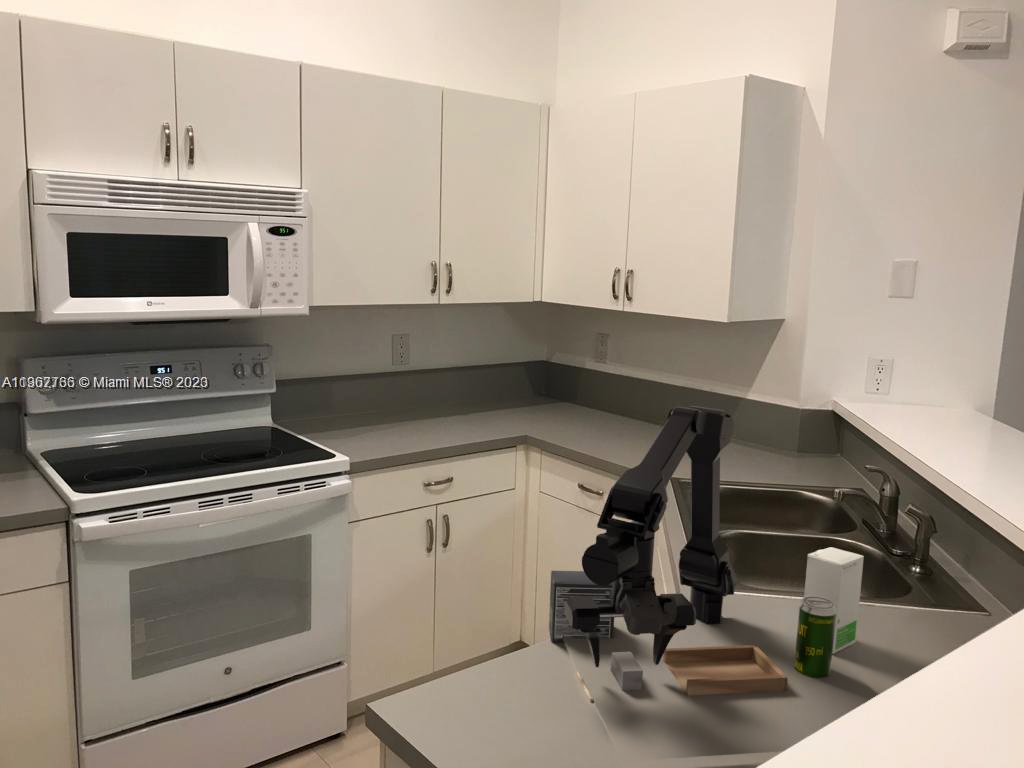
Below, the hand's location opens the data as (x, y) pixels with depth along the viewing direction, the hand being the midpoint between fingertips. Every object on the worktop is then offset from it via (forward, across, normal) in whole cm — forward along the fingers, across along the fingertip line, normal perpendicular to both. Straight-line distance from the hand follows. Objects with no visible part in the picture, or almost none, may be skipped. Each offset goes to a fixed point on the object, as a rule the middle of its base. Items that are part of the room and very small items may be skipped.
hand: (626, 664), depth 126 cm
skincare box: (+4, +40, +12) cm, 41 cm away
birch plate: (+4, 0, 0) cm, 4 cm away
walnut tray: (+3, +16, 0) cm, 16 cm away
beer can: (+4, +30, +1) cm, 31 cm away
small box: (+4, -2, +18) cm, 18 cm away
